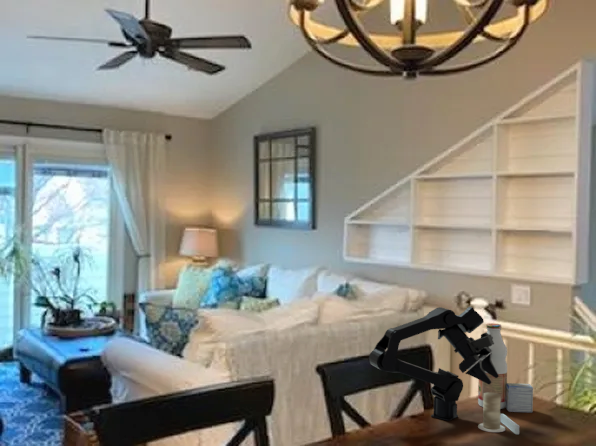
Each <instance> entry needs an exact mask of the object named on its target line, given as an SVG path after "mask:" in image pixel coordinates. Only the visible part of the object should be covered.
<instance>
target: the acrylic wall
mask: <svg viewBox="0 0 596 446" xmlns="http://www.w3.org/2000/svg"><path fill="white" fill-rule="evenodd" d="M500 424H502V425H503V426H504V427H505V428H507V429H509V430H510V431H511V432H512V433H513V434H515V435H520V425H519V424H517V422H515V421H513V420H512V419H511V418H510V417H509V416H507V415H506V414H504V413H500Z"/></svg>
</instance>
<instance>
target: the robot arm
mask: <svg viewBox="0 0 596 446" xmlns="http://www.w3.org/2000/svg"><path fill="white" fill-rule="evenodd" d="M483 324H484V318H483V317H482V315H480V314H479V313H478V312H477V311H476V309H474V307H472V306H468V307H467V308H466V309H465V310H464V311H463V312H461V313H460V314H459V315H457V314H456V312H454V311H453V310H452V309H448V308H445V307H442V306H441V307H440V306H439V307H436V308H434V309H433V310H430V311H429V312H427V314H426V315H425V316H423V317H420V318H418V319H415V320H412V321H409V322H406V323H403V324H401V325H397V326H395V327H390V328H388V329H387V330H386V331H385V332H384V334H383V336H382V337H381V338H380V339H379V341H378V342H377V343H376V345H375V346H374V349H373V350H371V352H370V354H369V356H368V360H369V363H370V365H372V366H373V367H374V368H377V369H379V370H380V371H382V372H387V373H400V374H403V375H405V376H409V377H411V378H414V379H416V380H417V379H418V380H420V381H422V382H425V383H428V384H431V385H433V386H432V387H431V388H430V392H431V395H432V396H433V413H432V414H431V415H430V417H431V418H434V419H435V418H436V419H440V420H444V421H449V422H450V421H451V420H454V419H455V418H456V419H457V418H458V416H459V415H458V404H457V402H459V399H460V396H461V393H462V391H463V389H464V382H463V379H461V378H460V377H459V375H458V374H455V373H453V372H451V371H449V370H444V369H442V368H440V367H439V368H438V369H437V371H433V370H432V371H431V370H429V369H426V368H423V367H421V366H418V365H415V364H412V363H409V362H406V361H404V360H401V359H399V358H398V357H397V355H398V352H399V346H400V343H401V341H403V340H406V339H409V338H411V337H415V336H417V335H420V334H422V333H426V332H429V331H432V330H437V340H441V339H442V338H445V339H446V341H447V342H448V343H449V344H450V345H451V347H452V348H453V349H454V350H453V351H454V353H455V354H457V353H458V354H459V355H460V356H461V358H462V359H463V360H462V361H461V362H460V363H458V370H459V371H460V372H461V373H462V374H464V373H465V375H469V377H470V376H471V377H472V378H474V379H477V380H478V381H479V380H481V381H483V382H485V383H487V384H490V383H491V380H490V379H489V377H488V376H487V374H486V373H485V371H486V372H487V373H489V374H490V375H492V376H493V377H495V378H498V377H499V375H498V373H497V371H496V369H495V367H494V365H493V363H492V361H491V356H492V353H491V354H489V353H490V352H491V351H492V350H491V349H490V348H489V347H490V346H492V344H494V342H493V340H492V339H493V337H492V336H491V335H489V334H488V333H487V332H483V333H482V334H481V333H480V337H479V338H476V339H474V338H473V337H471V336H470V337H469V336H468V335H467V333H468V334H471V333H472V332H474V331H475V330H476V329H478V328H479V327H480V326H481V325H483ZM488 354H489V355H488Z"/></svg>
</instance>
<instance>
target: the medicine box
mask: <svg viewBox="0 0 596 446" xmlns="http://www.w3.org/2000/svg"><path fill="white" fill-rule="evenodd" d="M533 401H534V387H533V386H532V385H531V384H530V383H514V382H513V383H512V382H511V383H510V382H509V383H508V382H507V384H506V407H505V408H506V410H507V411H508V412H509V413H511V412H512V413H513V412H514V413H534V412H533V411H534V410H533V405H534V404H533Z"/></svg>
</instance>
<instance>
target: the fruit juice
mask: <svg viewBox="0 0 596 446" xmlns="http://www.w3.org/2000/svg"><path fill="white" fill-rule="evenodd" d="M485 327H486V329H487V330H486V333H488V334H489V335H491V336H492V337H493V339H492V340H493V342H494V344H492V346H490V347H489V348H490V349H491V350H492V351H491V352H490V353H489V354H491V353H492V356H491V361H492V363H493V365H494V367H495V369H496V371H497V373H498V375H499V377H498V378H495V377H493V376H492V375H490V374H489V373H487V372H486V371H485V373H486V374H487V376H488V377H489V379H490V380H491V383H490V384H487V383H485V382H483V381H481V380H479V379H478V382H477V383H478V388H477V390H478V391H477V392H478V393H477V398H478V399H477V403H478V405H479V406H480V407H482V408H483V397H484V393H487V392H492V393H498V394H500V410H501V409H502V410H503V409H505V408H506V384H507V383H508V363H507V361H506V358H507V356H508V347H507V345H506V343H504V340H503V338H502V336H503V335H502V334H501V330H502V325H501V324H499V323H494V322H493V323H487V324H486V326H485ZM489 354H488V355H489Z"/></svg>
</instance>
